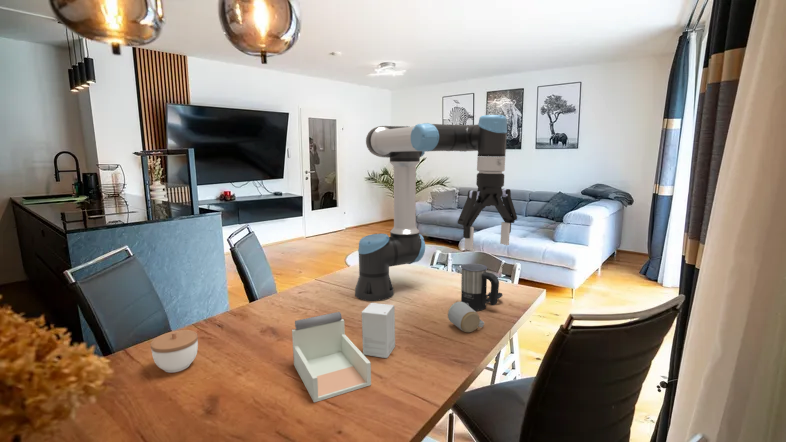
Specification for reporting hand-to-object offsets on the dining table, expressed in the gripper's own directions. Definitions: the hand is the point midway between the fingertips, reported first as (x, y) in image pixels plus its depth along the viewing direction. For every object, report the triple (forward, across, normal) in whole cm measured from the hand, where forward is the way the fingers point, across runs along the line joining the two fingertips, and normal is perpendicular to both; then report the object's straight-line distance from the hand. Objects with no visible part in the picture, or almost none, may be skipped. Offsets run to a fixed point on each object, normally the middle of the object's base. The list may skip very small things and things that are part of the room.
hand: (487, 246), depth 112 cm
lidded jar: (+29, -80, +27) cm, 90 cm away
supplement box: (+28, -31, +8) cm, 43 cm away
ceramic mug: (+28, +1, +8) cm, 29 cm away
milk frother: (+28, +18, +21) cm, 39 cm away
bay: (+28, -47, +4) cm, 55 cm away
